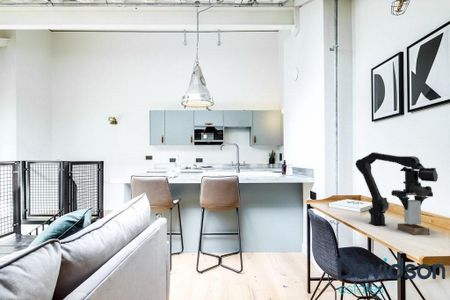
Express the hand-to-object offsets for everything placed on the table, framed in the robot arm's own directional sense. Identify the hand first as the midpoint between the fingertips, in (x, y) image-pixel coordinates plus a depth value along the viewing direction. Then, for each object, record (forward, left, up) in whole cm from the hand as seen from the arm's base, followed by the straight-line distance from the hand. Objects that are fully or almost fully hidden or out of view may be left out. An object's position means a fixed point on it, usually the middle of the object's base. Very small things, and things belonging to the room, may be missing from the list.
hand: (412, 209), depth 132 cm
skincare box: (0, 0, -7) cm, 7 cm away
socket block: (0, 0, -12) cm, 11 cm away
